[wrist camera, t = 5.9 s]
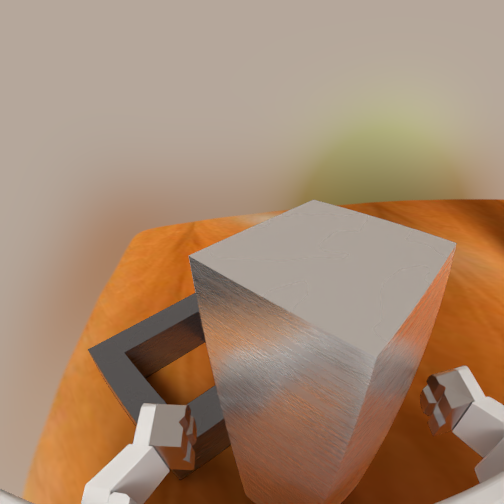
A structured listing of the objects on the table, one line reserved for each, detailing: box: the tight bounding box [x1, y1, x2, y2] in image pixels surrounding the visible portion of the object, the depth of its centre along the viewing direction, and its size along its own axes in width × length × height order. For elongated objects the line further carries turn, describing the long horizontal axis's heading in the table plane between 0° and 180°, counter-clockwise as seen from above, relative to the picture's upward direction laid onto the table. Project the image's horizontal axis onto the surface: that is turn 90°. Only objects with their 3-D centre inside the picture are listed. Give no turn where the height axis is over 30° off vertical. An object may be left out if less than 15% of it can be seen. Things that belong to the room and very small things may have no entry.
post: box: [189, 200, 457, 504], centre depth 9 cm, size 4×4×14 cm
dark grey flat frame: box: [88, 293, 231, 480], centre depth 24 cm, size 26×10×3 cm, turn 134°
